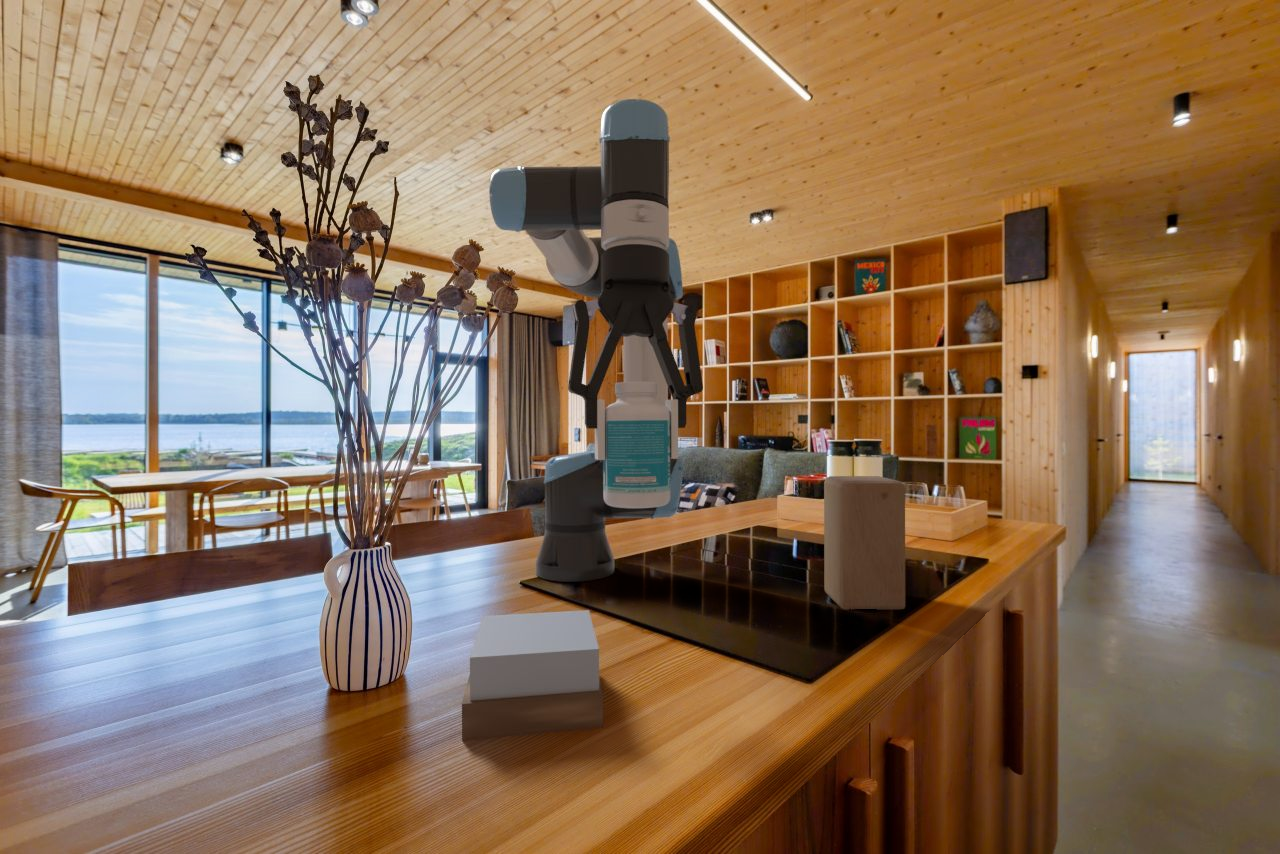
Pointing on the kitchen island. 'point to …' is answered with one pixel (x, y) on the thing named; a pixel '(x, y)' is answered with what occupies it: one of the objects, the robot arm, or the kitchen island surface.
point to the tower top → (534, 655)
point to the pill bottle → (636, 448)
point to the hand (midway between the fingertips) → (636, 458)
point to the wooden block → (864, 542)
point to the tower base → (530, 714)
